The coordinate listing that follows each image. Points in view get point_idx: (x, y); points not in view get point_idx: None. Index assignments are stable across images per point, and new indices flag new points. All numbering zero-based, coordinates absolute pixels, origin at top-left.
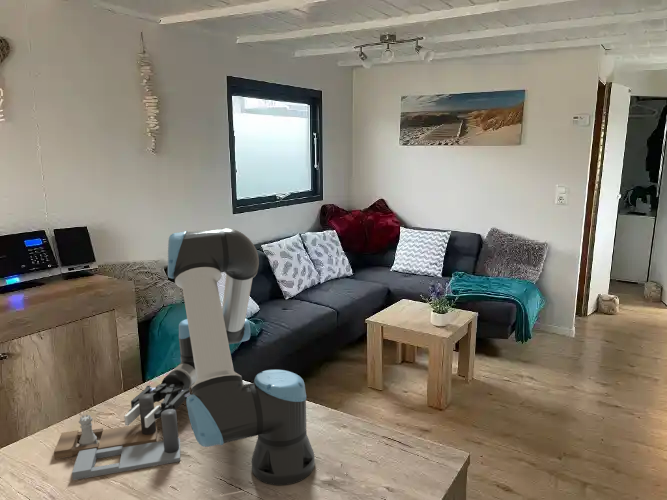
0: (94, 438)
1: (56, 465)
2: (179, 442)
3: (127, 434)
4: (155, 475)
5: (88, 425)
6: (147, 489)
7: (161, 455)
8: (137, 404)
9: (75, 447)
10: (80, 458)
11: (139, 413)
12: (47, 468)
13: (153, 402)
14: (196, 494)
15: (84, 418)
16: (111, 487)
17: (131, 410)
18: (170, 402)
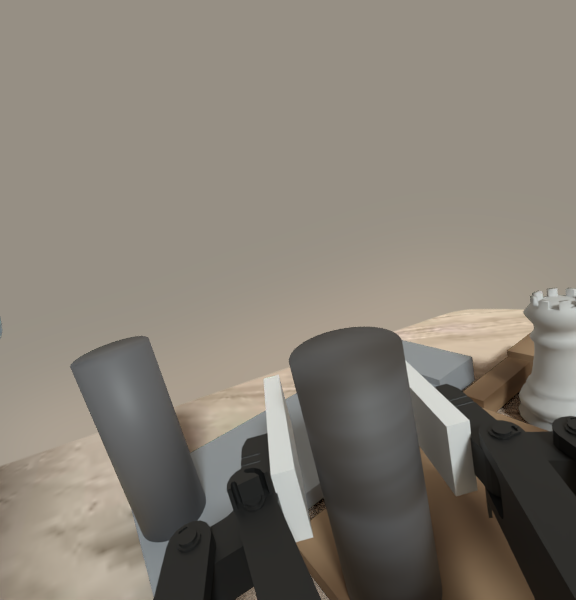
0: (534, 400)
1: (495, 353)
2: (149, 566)
3: (471, 498)
4: (197, 436)
5: (534, 329)
6: (196, 407)
7: (202, 469)
8: (458, 412)
9: (523, 364)
10: (423, 351)
11: (438, 464)
12: (498, 343)
13: (308, 423)
14: (72, 441)
15: (557, 298)
16: (282, 380)
17: (409, 371)
18: (203, 569)
